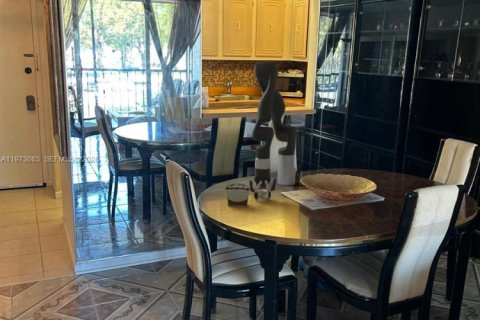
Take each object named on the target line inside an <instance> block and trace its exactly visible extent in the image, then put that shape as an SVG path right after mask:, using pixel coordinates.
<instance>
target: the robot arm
mask: <svg viewBox="0 0 480 320" xmlns="http://www.w3.org/2000/svg"><path fill="white" fill-rule="evenodd" d="M254 75H255V78H256V81H257V83H258V85H259V88H260V90H261V92H262V94H263V95H262V96H261V98H260V99H259V102H258V105H257V114H256V115H257V117H256V121H255V124H254V127H253V130H252V132H251V133H252V134H251V136H252V138H253V141H256V142H265V144H261V145H257V146H256V147H255V160H254V178H253V179H251V178H250V179H248V186H249V187H250V190H249V191H250V192H251V193H253V198H254V199H255V200H256V201H257V191H258V190H260V188H261V187H264V188H266V190H267V191H268V200H270V199H271V197H272V192H273V191H275V189H276V185H277V184H278V185H281V186H292V185H295V184H296V167H295V155H296V153H295V152H296V147H297V133H298V132H297V128H296V127H295V125H285V124H283V123H282V118H283V116H284V114H285V111H286V104H285V100H284V98H283V96H282V94H281V93H280V92H279V91H278V90H277V84H278V78H279V66H278V63H277V62H276V61H274V60H273V61H272V60H271V61H270V60H269V61H259V62H257V63H255V65H254ZM270 122H272V126H273V127H271V126H262V125H263V124H266V123H270ZM274 135H275V138H276V140H277V141H278V142H283V143H286V146H283V147H280V148H278V151H277V153H278V154H277V179H276V178H274V177H273V178H272V177H271V147H272V143H273V140H274ZM270 182H271V185H269V183H270ZM254 183H255V185H253V184H254ZM253 186H254V187H253Z"/></svg>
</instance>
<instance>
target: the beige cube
mask: <svg viewBox="0 0 480 320" xmlns="http://www.w3.org/2000/svg"><path fill="white" fill-rule="evenodd" d="M256 201H257V203H265V202H266V203H267V202H269V199H268V190H267V188H266V189H263V188H262V189H258V191H257V200H256Z"/></svg>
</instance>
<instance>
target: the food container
mask: <svg viewBox="0 0 480 320" xmlns="http://www.w3.org/2000/svg"><path fill="white" fill-rule="evenodd" d="M224 191H226V193H225V194H226V200H227V201H226V202H227V206H228V207H240V206H241V207H244V208H245V207H246V208H247V207H248V201H249V193H250V191H251V190H250V186H249V184H246V183H241V182H239V183H238V182H236V183H230V184H227V185H225V188H224ZM241 207H240V208H241Z"/></svg>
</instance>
